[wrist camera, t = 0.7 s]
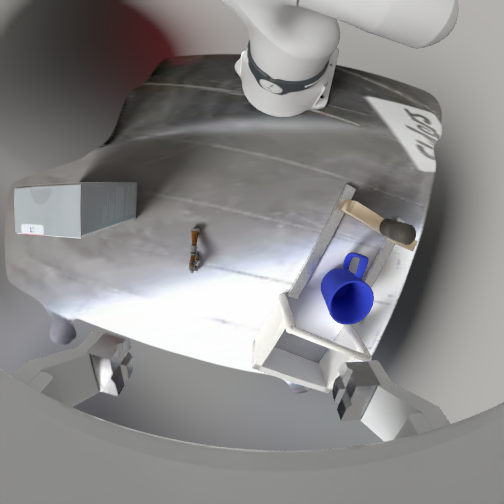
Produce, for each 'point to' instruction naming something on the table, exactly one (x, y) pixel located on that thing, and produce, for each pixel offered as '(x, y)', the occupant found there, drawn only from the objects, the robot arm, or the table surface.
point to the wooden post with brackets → (194, 250)
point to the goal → (296, 366)
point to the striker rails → (324, 241)
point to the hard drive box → (73, 208)
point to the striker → (381, 224)
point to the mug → (347, 292)
